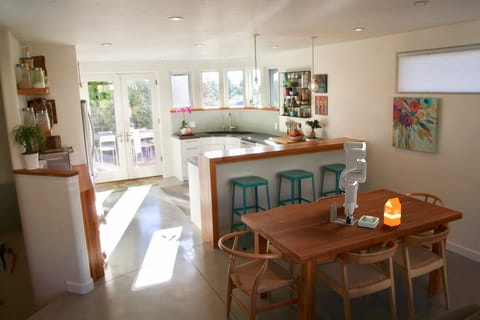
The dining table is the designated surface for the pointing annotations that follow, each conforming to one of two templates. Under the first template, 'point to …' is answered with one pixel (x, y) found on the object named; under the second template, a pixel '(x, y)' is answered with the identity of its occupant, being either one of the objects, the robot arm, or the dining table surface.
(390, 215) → the orange juice
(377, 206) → the dining table surface
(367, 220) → the stone cube
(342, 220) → the brown hollow box
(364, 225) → the sage bin
